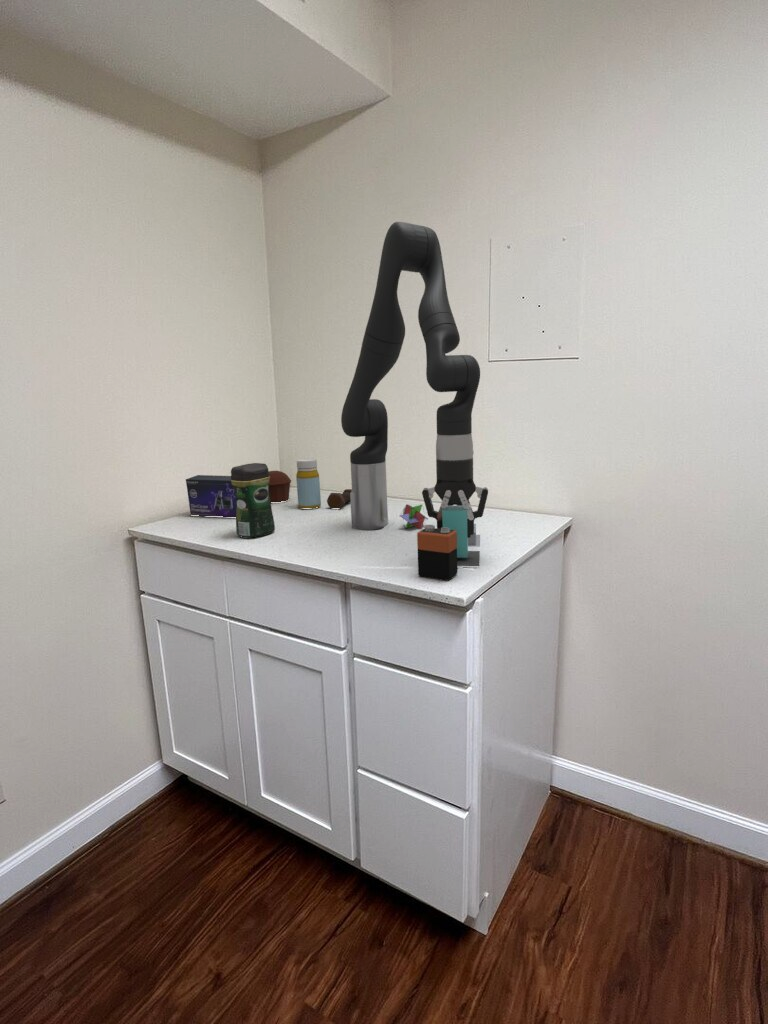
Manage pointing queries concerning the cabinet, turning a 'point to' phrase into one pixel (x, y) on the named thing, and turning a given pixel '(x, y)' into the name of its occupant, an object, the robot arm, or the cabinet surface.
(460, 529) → the teal block
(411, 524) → the geometric puzzle
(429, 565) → the battery
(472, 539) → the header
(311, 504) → the bottle
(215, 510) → the box
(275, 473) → the muffin
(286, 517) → the cabinet surface
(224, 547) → the cabinet surface
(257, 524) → the coffee jar
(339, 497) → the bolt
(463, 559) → the mat
